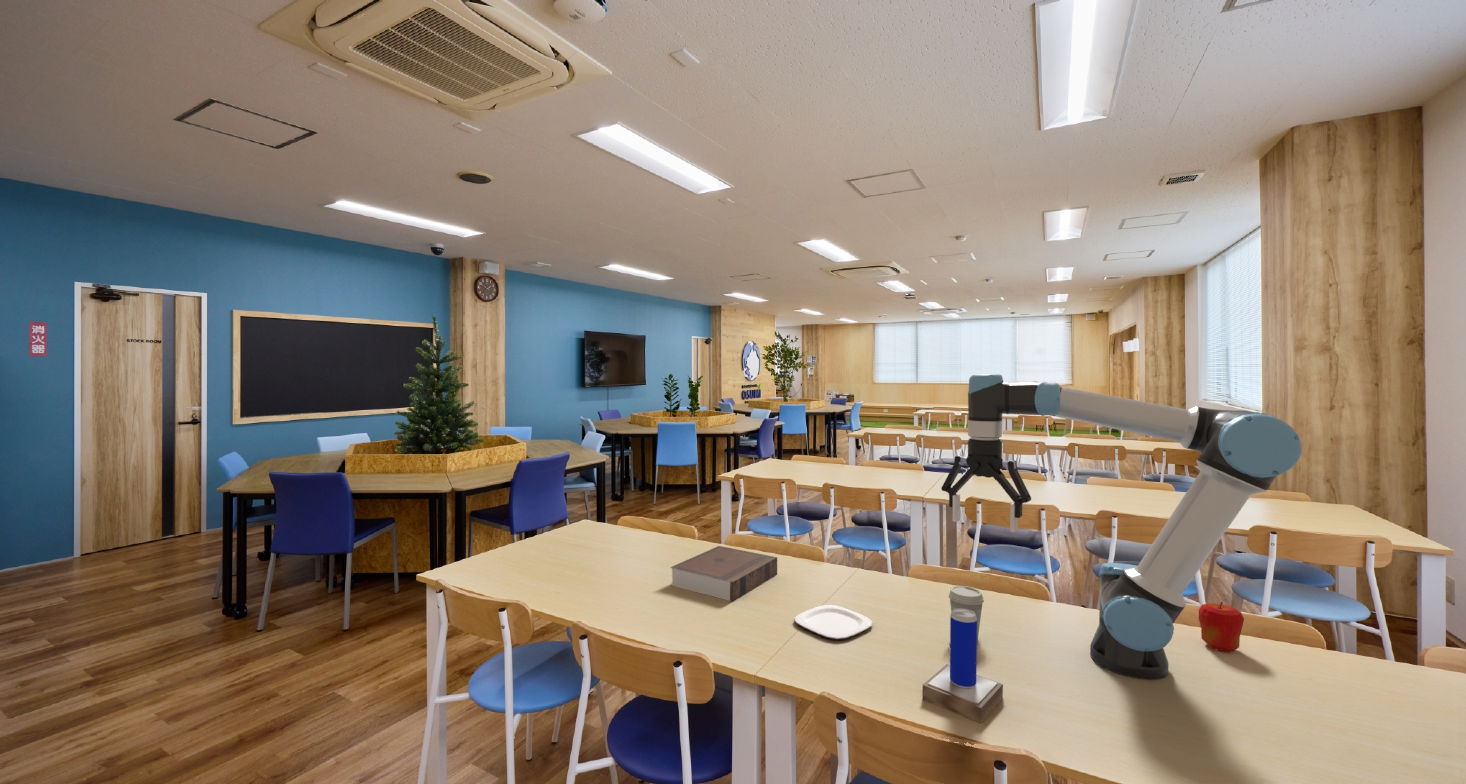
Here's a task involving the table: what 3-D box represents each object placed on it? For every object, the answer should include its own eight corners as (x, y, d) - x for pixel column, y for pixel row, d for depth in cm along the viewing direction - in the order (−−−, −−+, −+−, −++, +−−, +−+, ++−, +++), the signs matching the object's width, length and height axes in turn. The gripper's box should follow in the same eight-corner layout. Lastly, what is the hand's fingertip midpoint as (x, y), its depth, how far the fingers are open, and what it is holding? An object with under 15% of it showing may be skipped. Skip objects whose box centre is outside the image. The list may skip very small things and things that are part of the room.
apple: (1232, 643, 143) (1233, 597, 142) (1250, 658, 135) (1251, 609, 134) (1191, 638, 145) (1192, 592, 145) (1207, 652, 138) (1207, 605, 137)
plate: (837, 648, 141) (837, 641, 141) (786, 624, 155) (786, 618, 155) (880, 627, 153) (880, 621, 153) (829, 607, 167) (829, 601, 167)
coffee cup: (987, 645, 142) (987, 598, 141) (951, 642, 143) (951, 596, 143) (979, 630, 150) (979, 586, 150) (945, 628, 152) (945, 584, 151)
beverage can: (969, 676, 121) (970, 607, 120) (980, 689, 116) (981, 617, 115) (945, 676, 121) (946, 607, 120) (956, 690, 115) (956, 618, 115)
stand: (1002, 698, 118) (1002, 682, 118) (980, 723, 110) (980, 706, 110) (946, 677, 127) (946, 662, 127) (922, 698, 118) (922, 683, 118)
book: (777, 576, 193) (777, 557, 193) (733, 603, 170) (733, 582, 170) (718, 563, 207) (718, 545, 206) (670, 587, 183) (670, 567, 183)
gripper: (1046, 440, 129) (1045, 532, 130) (941, 433, 147) (940, 514, 147) (1036, 443, 124) (1035, 538, 124) (928, 435, 141) (927, 519, 142)
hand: (984, 525), depth 136 cm, fingers open, 13 cm apart
